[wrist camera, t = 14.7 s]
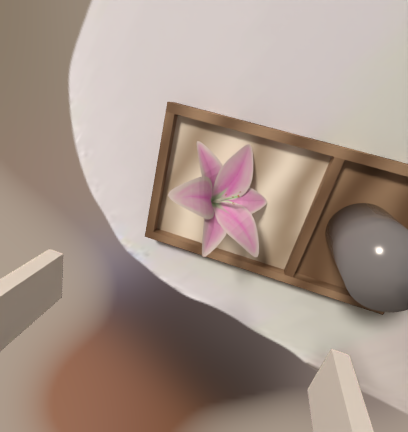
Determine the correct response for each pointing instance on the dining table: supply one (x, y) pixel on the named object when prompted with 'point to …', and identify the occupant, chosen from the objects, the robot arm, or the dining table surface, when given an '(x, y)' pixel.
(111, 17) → the dining table surface
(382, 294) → the grey rounded cylinder
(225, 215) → the lily
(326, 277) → the tray
